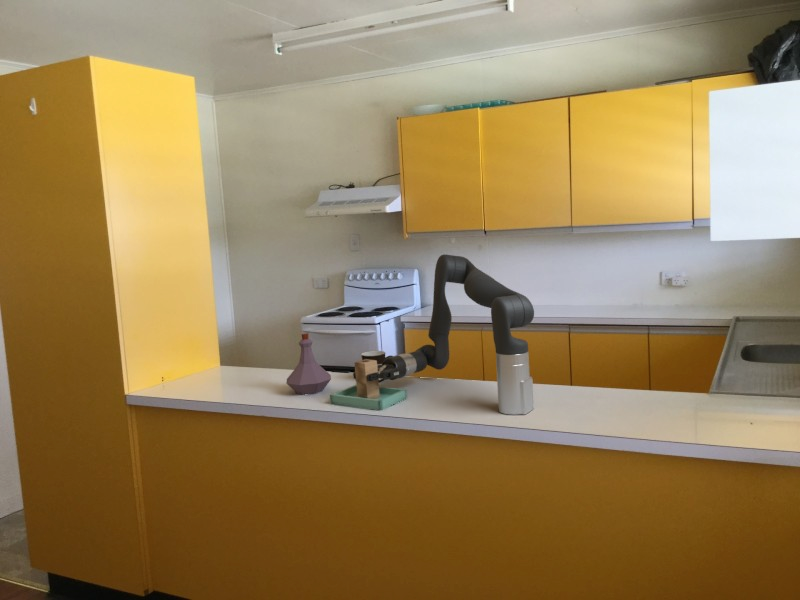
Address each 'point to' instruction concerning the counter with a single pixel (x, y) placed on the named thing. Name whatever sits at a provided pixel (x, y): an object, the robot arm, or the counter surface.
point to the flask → (308, 371)
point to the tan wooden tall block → (363, 386)
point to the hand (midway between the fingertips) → (360, 377)
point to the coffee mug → (375, 357)
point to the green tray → (350, 398)
